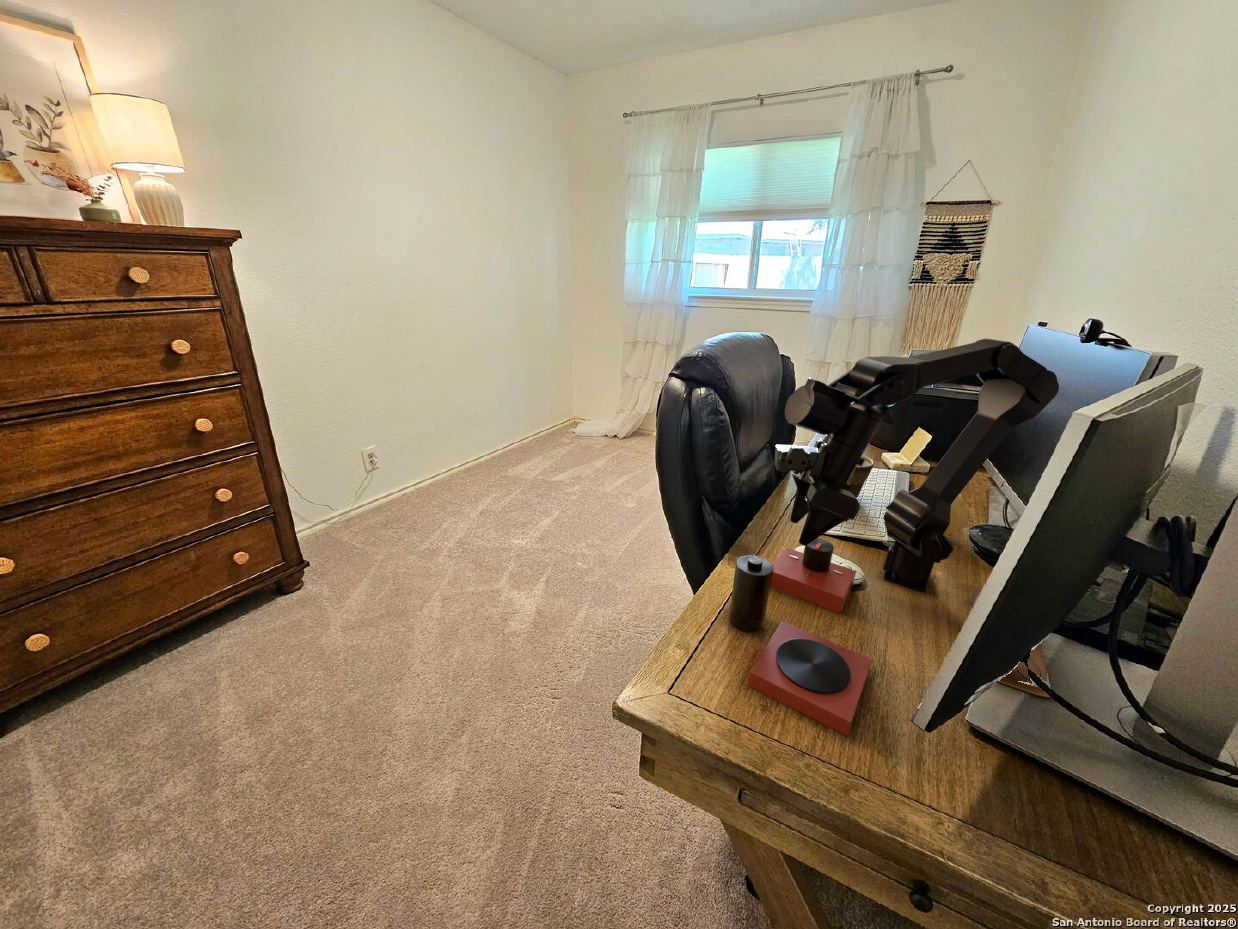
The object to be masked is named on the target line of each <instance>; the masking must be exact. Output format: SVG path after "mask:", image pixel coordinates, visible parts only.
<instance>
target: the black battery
mask: <svg viewBox="0 0 1238 929" xmlns="http://www.w3.org/2000/svg"><path fill="white" fill-rule="evenodd" d="M772 575H773V565H772V562H771V561H769V560H768V559H767V558H765V557H762V556H760V555H755V554H746V555H745V554H744V555H741V556H739V557H738V558H737V559H736V561H735V568H734V575H733V583H732V590H731V598H730V605H729V614H728V621H729V623H730V624H731V625H732V626H733V627H734V628H735V629H737V630H739V631H741V632H745V633H757V632H760V631H761V630H762V629H763V628H764V626H765V620H766V615H767V609H768V604H769V603H768V602H769V597H770V592H771V588H772V587H771V581H772Z"/></svg>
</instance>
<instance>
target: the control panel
mask: <svg viewBox="0 0 1238 929" xmlns="http://www.w3.org/2000/svg"><path fill="white" fill-rule="evenodd" d="M803 553H804V552H802V551H798V550H795V549H792V548H789V547H786V546H785V547H784V548H783V549H782V550H781V552H780V553H779V555H777V557H776V558H775V560H774V561H773V562H771V564H772V565H773V575H772V581H771V587H770V588H773V589H775V590H778V591H781V592H783V593H785V594H788V595H791V596H793V597H795V598H798V599H801V600H804V601H807V602H809V603H811V604H814V605H816V606H819V607H820V608H821V607H822V608H824V609H826V610H829V611H831V612H834V613H836V614H841V612H842V609H843V608H844V605H845V603H846V601H847V599H848V597H849V595H850V593H851V591H852V589H853V586H854V583H855V579H854V578H856V574H857V570H855V569H851V568H848V567H845V566H842V565H839V564H837V563H834V562H831V563H830V568H829V570H828V571H826V572H815V571H812V570H809V569H807V568H806V567H805V566H804V565H803V564H802V558H803ZM853 581H854V582H853Z"/></svg>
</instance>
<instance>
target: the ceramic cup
mask: <svg viewBox="0 0 1238 929" xmlns="http://www.w3.org/2000/svg"><path fill="white" fill-rule="evenodd" d="M862 458H863V459H865V461H864V463H863V465H862V466H860V465H857V466H856V467H855V469H854V471H853V473H852V475H851V477H850V478H849V480H848V482H849V483H850V484H851V486H850V488H849V490H848V491H849V492H851V493H852V494H853V495H854V496H855V498H857V497H859V496H860V494H861V491H862V489H863V487H864V485H865V483H866V481H867V479H868V478H869V476H870V474H871V471H872V469H873V467H874V465H875V461H874V460H873V459H872V458H871V457H869V456H867V455H865V454H863V455H862ZM857 499H858V498H857Z"/></svg>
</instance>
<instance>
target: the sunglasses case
mask: <svg viewBox="0 0 1238 929" xmlns="http://www.w3.org/2000/svg"><path fill="white" fill-rule="evenodd" d="M981 589H982V588H980V589H978V590H976V591H974V592H973V594H972V595H971V606H973V605H974V603H975V600H976V598H977V596H978V595H979V593H980V592H981ZM1027 664H1028V667H1027V666H1026V665H1025V663H1024V662H1020V663H1019V664H1018V666H1017V667H1016V668H1015V669H1013V670H1012V672H1011V673H1010V674H1008V675H1006V677H1004V678H1002V679H1001V680H1000V681H998V682H997V683H998V684H1001V685H1003V686H1004V687H1005V686H1006V687H1009V688H1011V689H1014V690H1017V691H1021V692H1023V693H1027V694H1030V695H1034V696H1036V697H1037V696H1038V697H1041V698H1045V699H1052V698H1051V697H1050V696H1049V695H1048V694H1047V693H1046V692H1045V691H1043V690H1042V688H1039V687H1035V686H1031V685H1027V684H1024V683H1021V682H1018V681H1023V682H1029V683H1031V684H1032V681H1031V680H1030V676H1029V675H1028V669H1030V670H1031V671H1032V672H1034V673H1035V674H1036V675H1038V676H1039V677H1041V678H1042V680H1044V681H1047V671H1048V668H1047V665H1046V661H1045V657H1044V653H1043V650H1042V644H1041V643H1040V644H1039V645H1038V646H1037V647H1036V648H1035V649H1034V650H1032V651H1031V654H1030V659H1029V660H1028V662H1027ZM1046 668H1047V669H1046ZM1050 688H1052V689H1053V686H1052V685H1051V687H1050Z"/></svg>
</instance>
